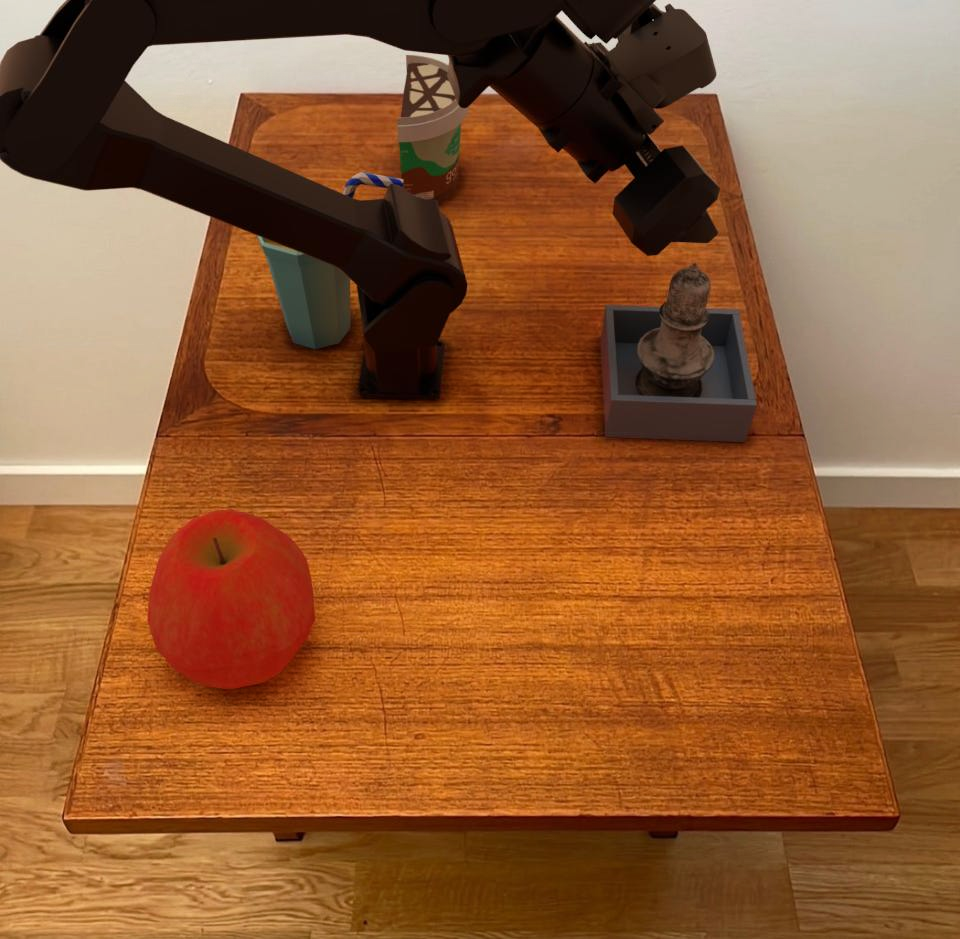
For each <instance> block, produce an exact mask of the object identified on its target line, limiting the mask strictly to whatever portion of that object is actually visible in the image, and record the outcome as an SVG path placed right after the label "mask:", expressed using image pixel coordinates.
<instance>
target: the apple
mask: <svg viewBox="0 0 960 939" xmlns="http://www.w3.org/2000/svg"><path fill="white" fill-rule="evenodd" d="M314 596H315V595H314V588H313V581H312V575H311V571H310V567H309V563H308V558H306V556H305V554H304V552H303V551H302V549H301V548H300V547H299V545H298V544H297V543H296V542H295V541H294V540H293V539H292V538H291V536H289V535H287V534H286V533H285V532H283V531H281V529H279V528H277V527H276V526H274V525H273V524H271V523H270V522H268V521H267V520H266V519H264V518H262V517H259V516H257V515H255V514H252V513H247V512H243V511H238V510H234V509H230V508H229V509H215V510H213V511H211V512H208V513H204V514H202V515H200V516H197V517H195V518H192V519H191V520H189V521H188V522H187V523H186V524H184V525H183V526H182V527H181V528H179V529H178V530H176V531H175V532H174V533H173V534H172V535H171V537H170V538H169V540H168V542H167V543H166V545H165V546H164V548H163V549H162V551H161V553H160V555H159V558H158V559H157V563H156V567H155V570H154V573H153V578H152V581H151V584H150V588H149V592H148V603H147V604H148V605H147V623H148V627H149V631H150V634H151V637H152V639H153V643H154V645H155V648H156V650H157V652H158V653H159V654H160V655H161V656H162V657H163V658H164V659H165V661H166V662H167V663H168V664H169V665H170V666H171V667H172V668H173V669H174V670H175V671H176V672H178V673H179V674H181V675H182V676H184V677H185V678H187V679H188V680H190V681H191V682H193V683H196V684H199V685H202V686H205V687H208V688H209V687H210V688H218V689H224V690H234V689H240V688H244V687H248V686H254V685H259V684H263V683H266V682H267V681H269V680H270V679H272V678H274V677H275V676H277V675H279V674H280V673H282V671H283V670H284V669H285V668H286V667H287V666H288V664H289V663H290V662H291V660H292V659H293V658H294V656H295V655H296V653H297V652H298V651H299V650H300V648H301V646H302V645H303V644H304V642H306V640H307V639H308V636H309V635H310V633H311V630H312V627H313V626H314V623H315V622H316V614H315V613H316V612H315V611H316V610H315V597H314Z"/></svg>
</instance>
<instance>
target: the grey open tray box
mask: <svg viewBox="0 0 960 939" xmlns="http://www.w3.org/2000/svg"><path fill="white" fill-rule="evenodd" d="M660 307H661V306H653V305H652V306H647V305H624V304H623V305H620V304H619V305H618V304H605V306H604V313H603V320H602V327H601V336H600V344H599V345H600V361H601V381H602V382H601V383H602V399H603V400H602V401H603V420H604V437H605V438H620V439H621V438H623V439H645V440H646V439H648V440H649V439H650V440H672V441H673V440H675V441H677V440H678V441H703V442H726V443H727V442H728V443H746V441H747V438H748V436H749V433H750V429H751V426H752V422H753V421H754V416H755V413H756V410H757V407H758V404H757V403H758V402H757V398H756V393H755V392H756V391H755V387H754V383H753V376H752V371H751V367H750V361H749V356H748V351H747V345H746V340H745V335H744V329H743V324H742V319H741V314H740V309H735V308H711V307H710V308H708V307H706V309H707V311H708V313H709V319H708V322H707V323H706V324H705V325H704V326H703V327H702V330H701V334H700V335H701V336H703V337H704V338H705V339H706V340H707V341H708V342H709V343H710V345H711V346H712V349H713V351H714V361H713V364H712V366H711V368H710V369H709V370H708V371H707V372H706V373H705V374H704V375H703V376H702V378H701V379H700V380H701V382H702V392H701V395H700V397H699V398H695V397H667V396H641V395H640V394H639V392H638V391H637V388H636V385H635V384H636V376H637V374H638V372H639V371H640V370H641V369H642V365H641V362H640V359H639V356H638V353H637V349H638V344H639V341H640V339H641V338H642V337H643V336H644V335H645V334H646V333H648V332H649V331H651V330H653V329H656V328H660V327H661V321H662V319H661V317H660V315H659V310H660Z"/></svg>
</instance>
